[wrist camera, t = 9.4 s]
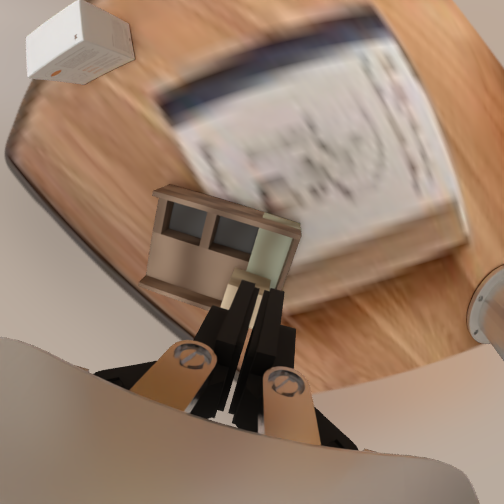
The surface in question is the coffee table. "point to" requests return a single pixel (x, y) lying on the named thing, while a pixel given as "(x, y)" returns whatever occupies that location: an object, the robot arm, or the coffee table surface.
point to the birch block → (234, 284)
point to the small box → (78, 45)
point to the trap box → (214, 246)
